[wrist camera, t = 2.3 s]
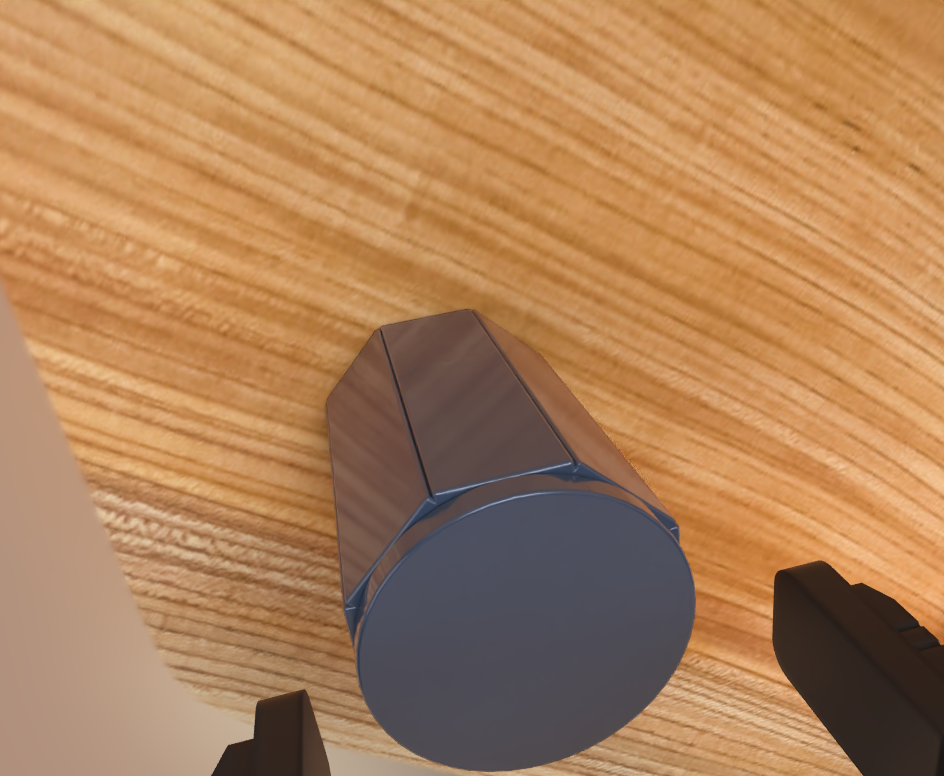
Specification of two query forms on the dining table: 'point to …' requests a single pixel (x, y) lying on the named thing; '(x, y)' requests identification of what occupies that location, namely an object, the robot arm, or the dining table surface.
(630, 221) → the dining table surface
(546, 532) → the cup
